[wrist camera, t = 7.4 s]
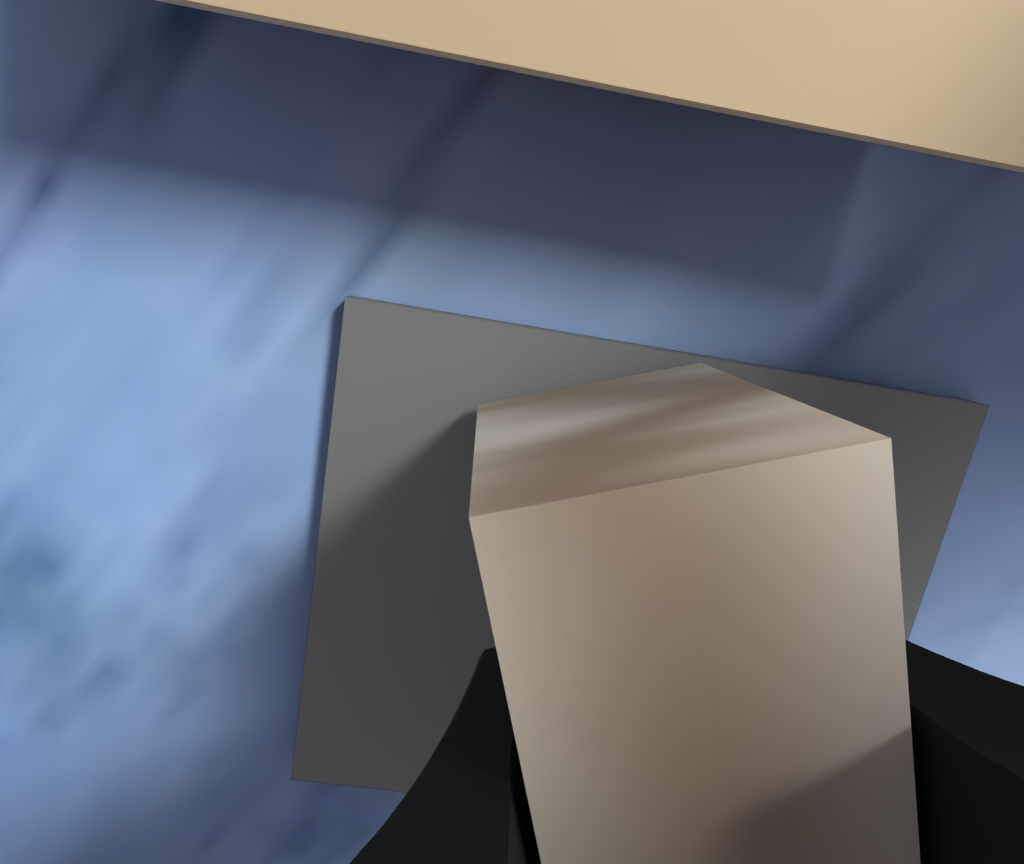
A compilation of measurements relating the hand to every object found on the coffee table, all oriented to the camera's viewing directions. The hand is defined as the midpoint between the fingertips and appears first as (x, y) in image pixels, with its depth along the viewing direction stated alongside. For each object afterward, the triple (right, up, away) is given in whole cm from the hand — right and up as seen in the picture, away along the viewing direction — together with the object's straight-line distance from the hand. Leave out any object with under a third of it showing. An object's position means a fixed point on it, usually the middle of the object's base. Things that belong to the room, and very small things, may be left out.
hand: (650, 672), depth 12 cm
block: (0, +1, +2) cm, 2 cm away
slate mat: (0, +1, +3) cm, 3 cm away
